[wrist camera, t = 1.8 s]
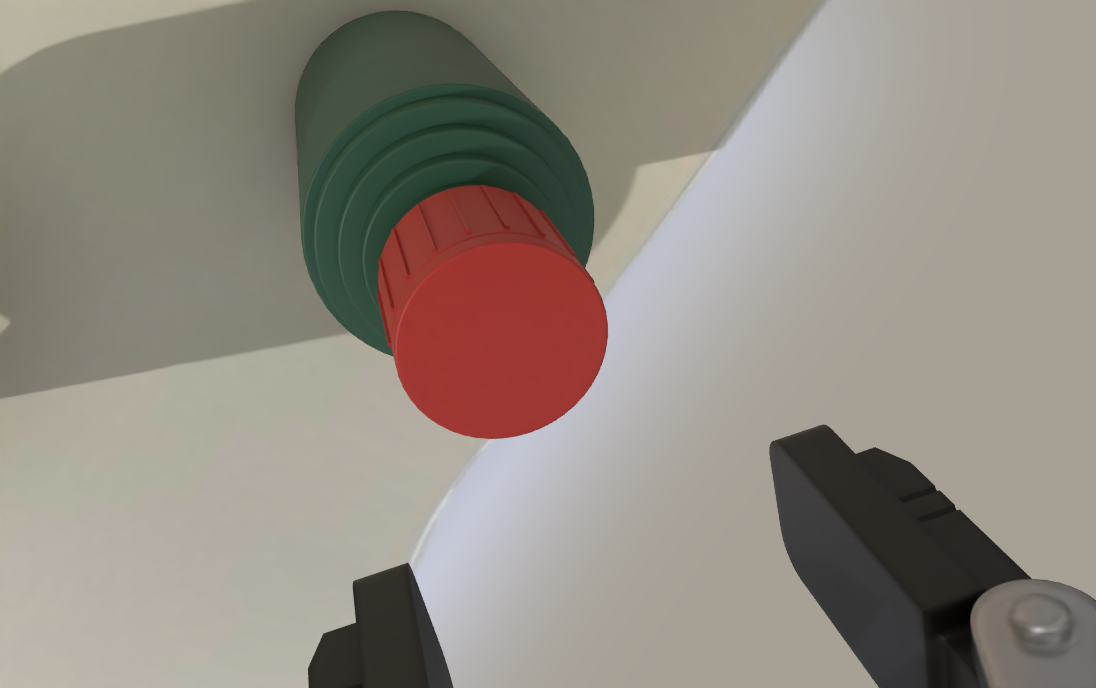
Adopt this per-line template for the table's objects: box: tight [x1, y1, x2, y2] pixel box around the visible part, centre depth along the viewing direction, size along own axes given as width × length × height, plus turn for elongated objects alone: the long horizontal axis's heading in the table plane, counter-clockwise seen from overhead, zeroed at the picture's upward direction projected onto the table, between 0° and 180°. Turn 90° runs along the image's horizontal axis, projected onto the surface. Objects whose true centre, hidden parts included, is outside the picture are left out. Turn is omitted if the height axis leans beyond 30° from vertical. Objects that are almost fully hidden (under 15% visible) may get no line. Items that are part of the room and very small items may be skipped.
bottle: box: [295, 11, 594, 356], centre depth 28 cm, size 7×7×19 cm
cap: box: [377, 185, 608, 439], centre depth 21 cm, size 4×4×4 cm
